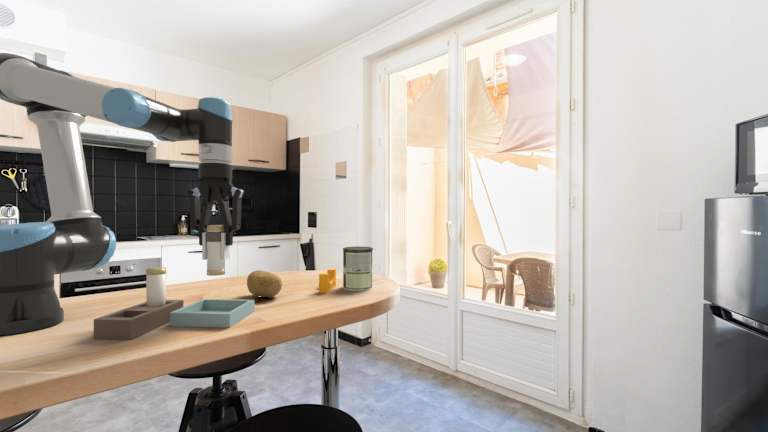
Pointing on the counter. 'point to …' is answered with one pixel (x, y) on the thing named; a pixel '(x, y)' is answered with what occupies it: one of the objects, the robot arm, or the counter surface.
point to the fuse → (156, 287)
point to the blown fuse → (214, 251)
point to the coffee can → (357, 268)
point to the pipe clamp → (327, 281)
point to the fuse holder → (134, 321)
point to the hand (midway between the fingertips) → (216, 258)
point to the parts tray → (212, 313)
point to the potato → (264, 284)
